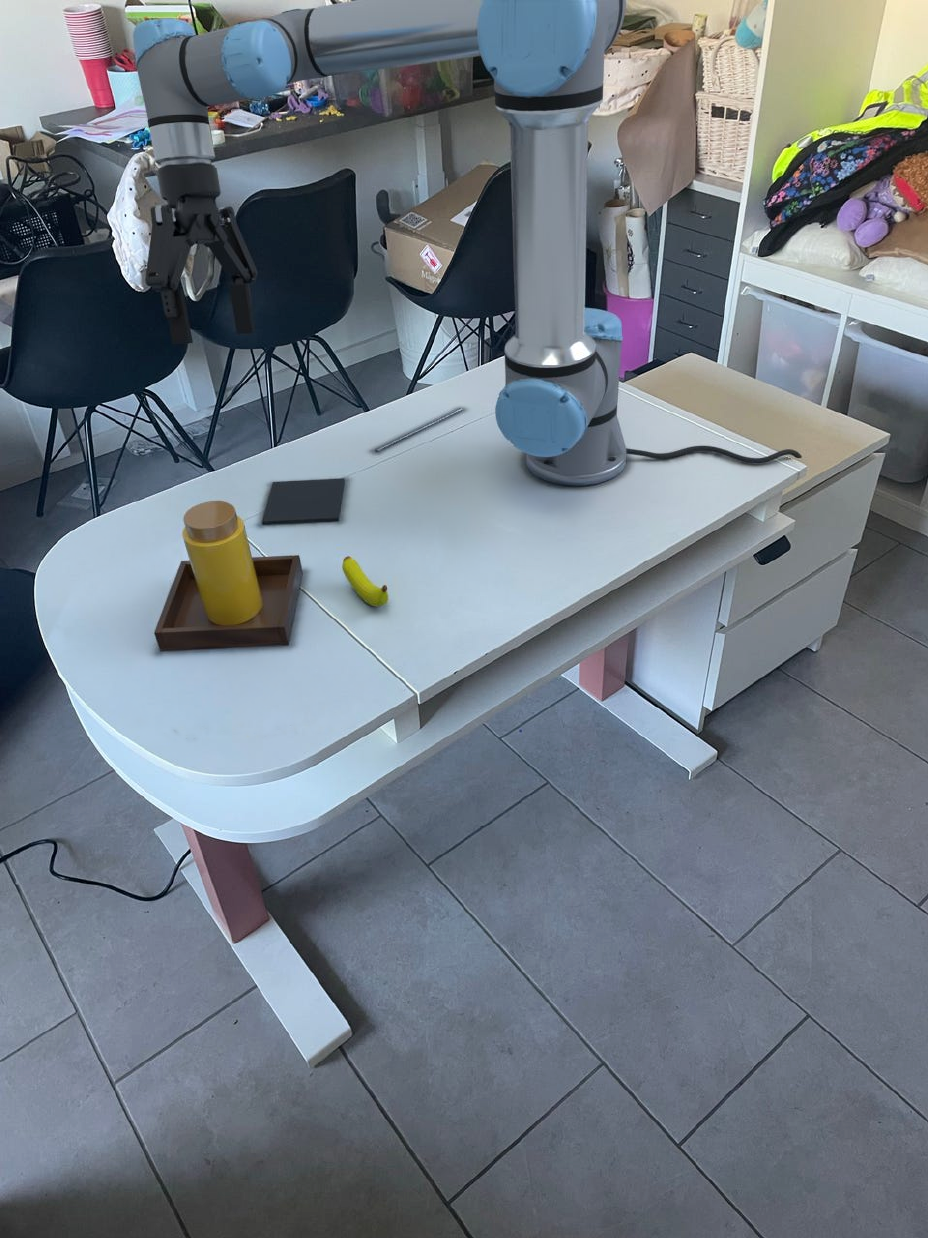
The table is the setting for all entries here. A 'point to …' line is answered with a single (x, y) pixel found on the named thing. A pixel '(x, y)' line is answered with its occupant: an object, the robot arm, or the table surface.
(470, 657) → the table surface
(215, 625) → the box
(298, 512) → the mat
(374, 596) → the fruit
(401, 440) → the rod
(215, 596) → the jar
